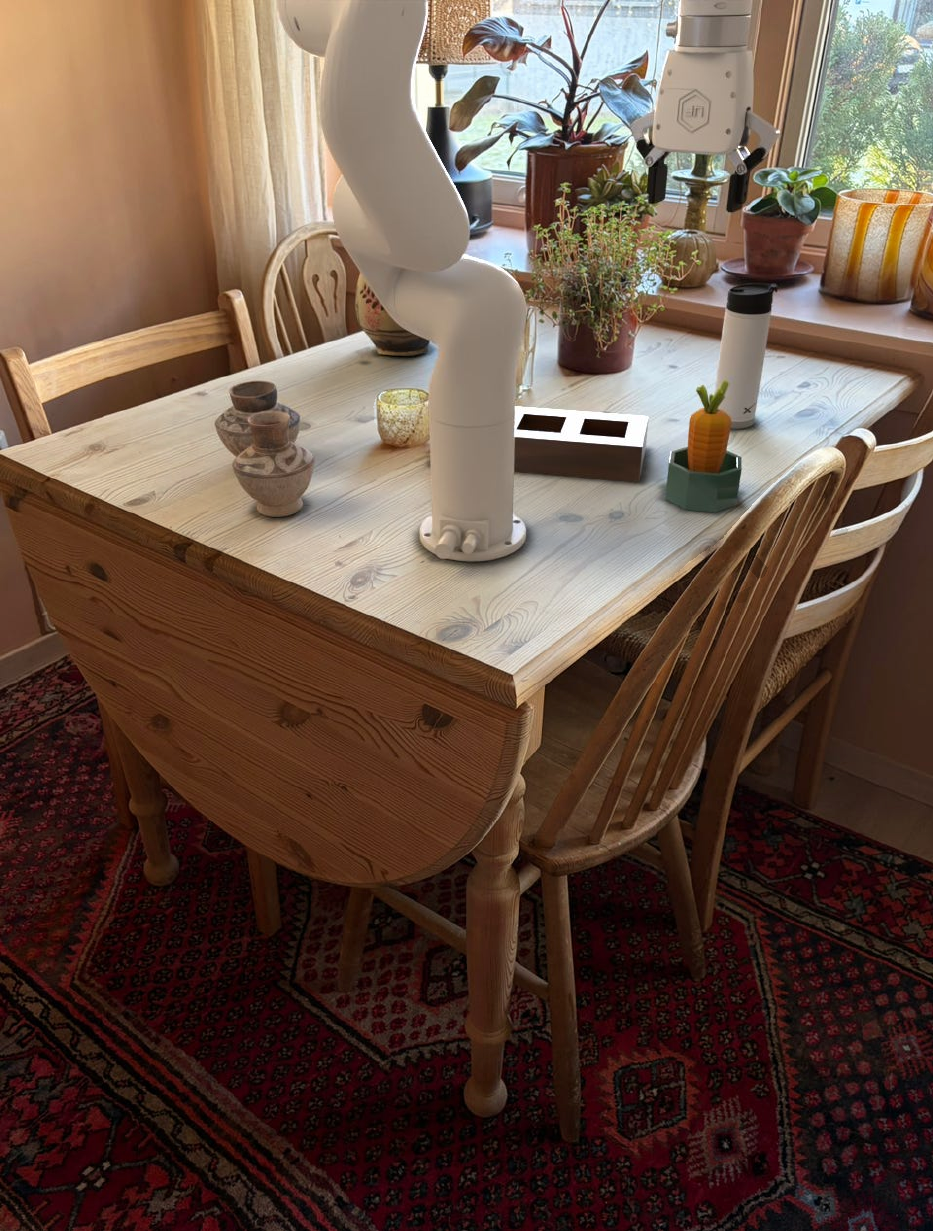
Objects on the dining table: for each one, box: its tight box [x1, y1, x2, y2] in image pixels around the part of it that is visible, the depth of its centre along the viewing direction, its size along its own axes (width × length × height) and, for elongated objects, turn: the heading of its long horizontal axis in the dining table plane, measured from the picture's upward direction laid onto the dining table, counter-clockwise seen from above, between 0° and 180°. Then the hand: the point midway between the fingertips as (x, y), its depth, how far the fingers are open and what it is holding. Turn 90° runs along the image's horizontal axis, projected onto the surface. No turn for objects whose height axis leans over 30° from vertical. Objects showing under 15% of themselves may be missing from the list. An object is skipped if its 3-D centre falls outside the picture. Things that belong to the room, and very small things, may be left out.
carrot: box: [687, 380, 731, 473], centre depth 122 cm, size 5×5×15 cm
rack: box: [514, 406, 650, 483], centre depth 135 cm, size 11×28×5 cm, turn 77°
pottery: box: [214, 380, 315, 518], centre depth 127 cm, size 11×25×12 cm, turn 19°
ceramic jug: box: [354, 272, 431, 357], centre depth 170 cm, size 17×15×30 cm
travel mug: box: [713, 282, 778, 430], centre depth 142 cm, size 6×7×20 cm
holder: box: [664, 446, 743, 513], centre depth 125 cm, size 9×9×5 cm
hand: (694, 206), depth 115 cm, fingers open, 9 cm apart
